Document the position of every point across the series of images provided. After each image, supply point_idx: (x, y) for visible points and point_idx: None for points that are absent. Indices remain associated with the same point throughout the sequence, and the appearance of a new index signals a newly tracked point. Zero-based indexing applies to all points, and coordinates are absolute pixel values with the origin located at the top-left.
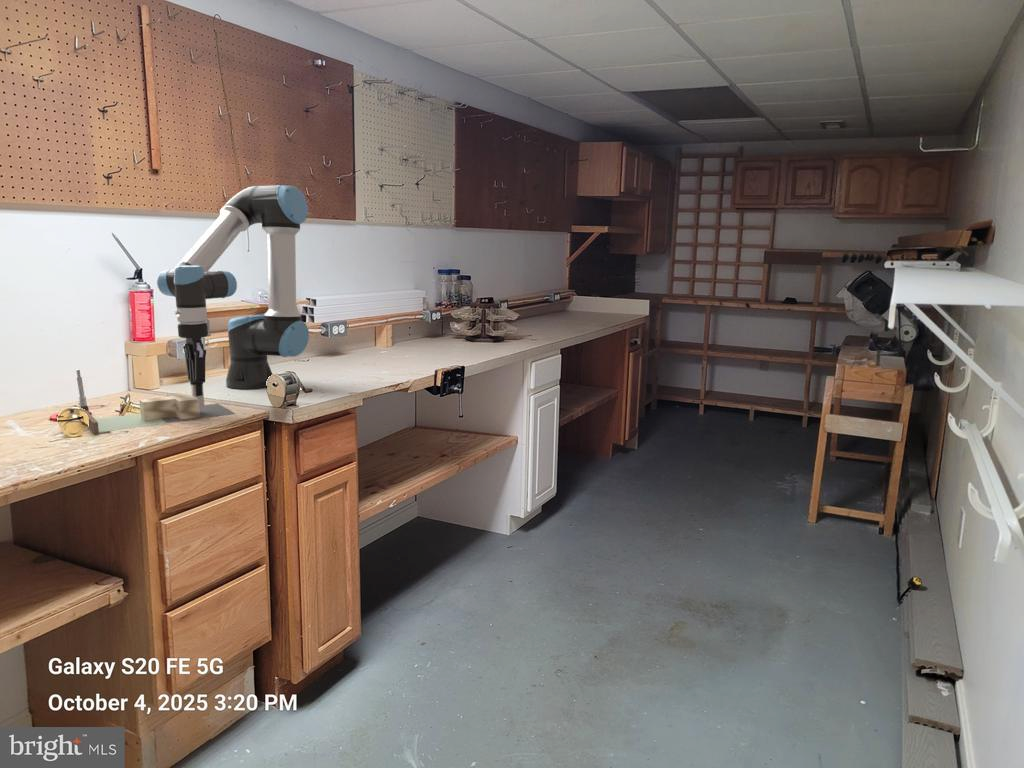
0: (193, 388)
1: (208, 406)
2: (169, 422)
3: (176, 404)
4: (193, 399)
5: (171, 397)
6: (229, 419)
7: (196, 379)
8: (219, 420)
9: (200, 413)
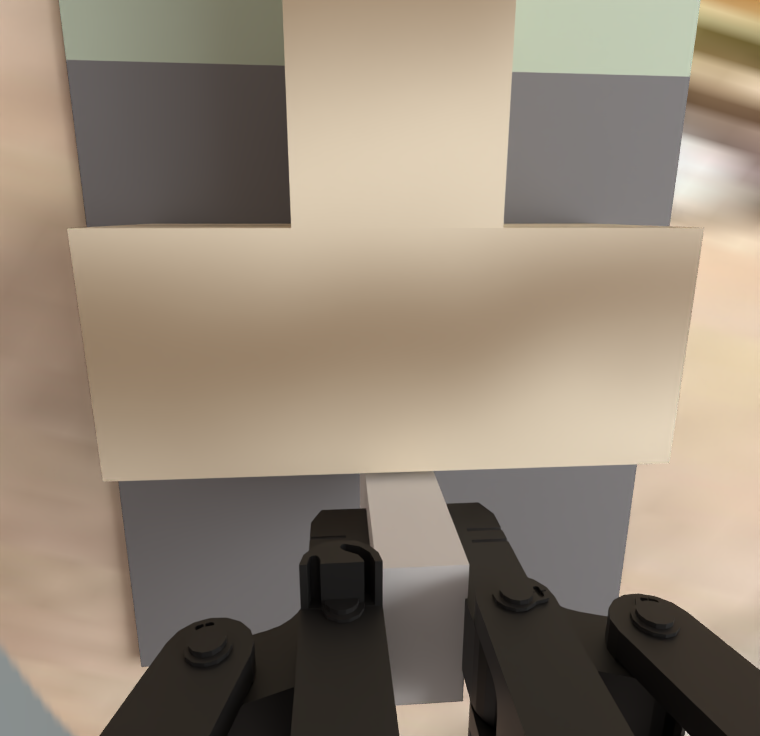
0: (373, 539)
1: (549, 560)
2: (80, 91)
3: (249, 226)
4: (108, 422)
5: (414, 209)
6: (11, 583)
7: (136, 693)
8: (13, 511)
9: None
